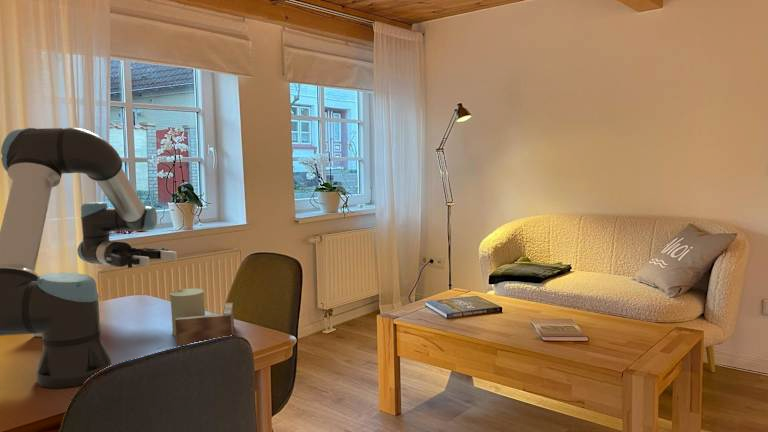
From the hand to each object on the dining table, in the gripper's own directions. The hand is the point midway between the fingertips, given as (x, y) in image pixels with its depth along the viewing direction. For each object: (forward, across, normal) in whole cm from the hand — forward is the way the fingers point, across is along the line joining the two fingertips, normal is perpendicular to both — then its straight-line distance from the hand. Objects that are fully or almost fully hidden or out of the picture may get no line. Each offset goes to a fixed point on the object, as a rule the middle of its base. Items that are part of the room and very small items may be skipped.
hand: (162, 259), depth 170 cm
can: (+10, 0, -20) cm, 23 cm away
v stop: (+21, 0, -20) cm, 29 cm away
